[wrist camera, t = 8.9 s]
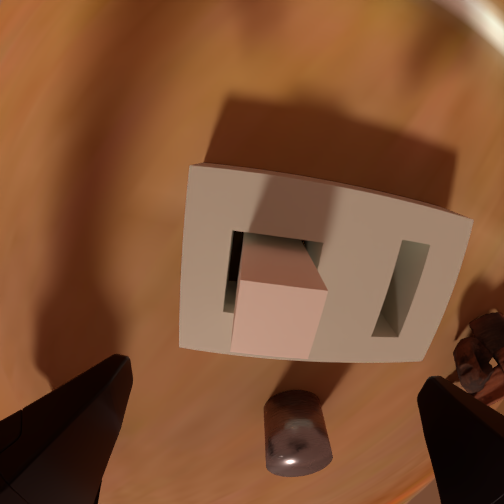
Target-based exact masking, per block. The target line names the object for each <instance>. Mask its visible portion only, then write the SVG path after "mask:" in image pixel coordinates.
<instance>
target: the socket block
mask: <svg viewBox="0 0 504 504" xmlns="http://www.w3.org/2000/svg"><path fill="white" fill-rule="evenodd" d="M473 221H474V220H473V219H470V218H468V217H465V216H463V215H460V214H458V213H455V212H453V211H450V210H448V209H445V208H442V207H440V206H436V205H433V204H429V203H425V202H421V201H418V200H414V199H410V198H406V197H402V196H398V195H394V194H390V193H385V192H381V191H377V190H372V189H368V188H363V187H358V186H354V185H349V184H344V183H339V182H334V181H328V180H323V179H318V178H312V177H306V176H300V175H294V174H288V173H282V172H275V171H268V170H261V169H254V168H247V167H239V166H231V165H222V164H213V163H199V164H194V165H190V167H189V176H188V186H187V196H186V207H185V219H184V233H183V247H182V265H181V286H180V319H179V347H181V348H187V349H193V350H200V351H207V352H214V353H222V354H230V355H238V356H248V357H258V358H268V359H281V360H295V361H313V362H343V363H386V362H415V361H422V360H423V358H424V356H425V354H426V352H427V350H428V348H429V346H430V344H431V342H432V340H433V337H434V335H435V333H436V331H437V328H438V326H439V324H440V322H441V319H442V317H443V314H444V312H445V309H446V307H447V304H448V302H449V299H450V297H451V294H452V291H453V288H454V286H455V283H456V280H457V277H458V274H459V271H460V268H461V265H462V261H463V258H464V255H465V251H466V248H467V244H468V241H469V237H470V233H471V229H472V225H473ZM234 231H240V232H248V233H256V234H263V235H271V236H278V237H286V238H293V239H300V240H305V244H304V247H305V248H306V250H307V252H308V254H309V256H310V257H311V259H312V261H313V263H314V265H315V267H316V269H317V270H318V272H319V274H320V276H321V278H322V280H323V282H324V284H325V286H326V287H327V289H328V294H327V297H326V301H325V305H324V308H323V312H322V315H321V318H320V322H319V325H318V328H317V332H316V335H315V338H314V342H313V345H312V348H311V351H310V354H309V357H308V359H299V358H285V357H274V356H263V355H254V354H245V353H237V352H230V348H231V338H232V328H233V318H234V308H235V298H236V288H237V282H236V281H228V278H229V270H230V261H231V253H232V245H233V236H234Z"/></svg>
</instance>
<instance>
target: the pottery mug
mask: <svg viewBox="0 0 504 504" xmlns="http://www.w3.org/2000/svg"><path fill="white" fill-rule="evenodd" d="M469 326H470V328H471V329H472V330H473V334H474V336H475V338H472V337H467V338H464V339H461V340H460V342H459V343H458V344H457V346H456V348H455V349H454V352H453V355H454V360H455V362H456V369H457V373H458V376H459V379H460V383H461V385H462V386H463V387H464V389H465V390H466V391H467V392H468V394H470V395H471V396H473V397H475V398H476V399H478V400H479V401H481V402H483V403H484V404H486V405H487V406H490V405H492V404H494V403H496V402H498V401H500V400H501V399H503V398H504V316H503V314H502V313H498V312H496V313H490V314H486V315H484V316H481V317H480V318H477V319H476V320H474V321H472V322H471V323H470V324H469ZM492 357H493V358H494V359H495V360H496V362H497V363H498V365H497V366H495V367H494V368H492V365H491V364H489V361H490V360H491V358H492Z"/></svg>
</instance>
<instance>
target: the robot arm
mask: <svg viewBox="0 0 504 504" xmlns="http://www.w3.org/2000/svg"><path fill="white" fill-rule="evenodd" d="M132 384H133V375H132V368H131V361H130V358H129V357H128V356H124V355H120V354H114V355H112V356H110V357H109V358H107V359H105V360H104V361H102V362H100V363H99V364H97V365H95V366H94V367H92V368H90V369H89V370H87V371H85V372H84V373H82V374H80V375H79V376H77V377H75V378H74V379H72V380H70V381H69V382H67V383H65V384H64V385H62V386H60V387H59V388H57V389H55V390H53V391H52V392H50V393H48V394H47V395H45V396H43V397H42V398H40V399H38V400H36V401H35V402H33V403H31V404H30V405H28V406H26V407H24V408H23V411H22V410H19V411H17V412H16V413H14V414H12V415H10V416H9V417H7V418H5V419H3V420H1V421H0V504H98V499H99V493H100V488H101V482H102V477H103V474H104V472H105V469H106V466H107V463H108V461H109V458H110V455H111V453H112V450H113V448H114V445H115V442H116V440H117V437H118V435H119V432H120V429H121V426H122V422H123V418H124V414H125V410H126V406H127V403H128V399H129V395H130V392H131V388H132ZM417 402H418V407H419V412H420V416H421V421H422V426H423V432H424V437H425V441H426V445H427V448H428V452H429V455H430V459H431V463H432V466H433V470H434V474H435V478H436V483H437V487H438V491H439V496H440V500H441V504H504V416H503V415H502V414H500V413H498V412H497V411H495V410H494V409H492V408H491V407H489V406H487V405H486V404H484V403H483V402H481V401H479V400H478V399H476V398H475V397H473V396H471V395H470V394H468V393H467V392H465V391H464V390H462V389H460V388H459V387H457V386H456V385H454V384H452V383H451V382H449V381H448V380H446V379H445V378H443V377H441V376H431V377H429V378H428V379H427V380H426V382H425V384H424V385H423V387H422V389H421V391H420V392H419V394H418V397H417Z"/></svg>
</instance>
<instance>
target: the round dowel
mask: <svg viewBox="0 0 504 504" xmlns="http://www.w3.org/2000/svg"><path fill="white" fill-rule="evenodd" d="M264 428H265V451H266V468H267V469H268V471H270V472H271V473H273V474H275V475H279V476H284V477H297V476H304V475H309V474H312V473H315V472H317V471H320V470H321V469H323V468H325V467H326V466H327V465H328V464H330V462H331V461H332V458H333V456H332V451H331V447H330V442H329V438H328V434H327V430H326V425H325V421H324V417H323V413H322V409H321V405H320V401H319V399H318V397H317V396H316V395H314V394H313V393H311V392H308V391H304V390H290V391H285V392H282V393H279V394H277V395H275V396H273V397H272V398H270V399H269V400H268V401H267V402H266V404H265V406H264Z"/></svg>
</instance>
